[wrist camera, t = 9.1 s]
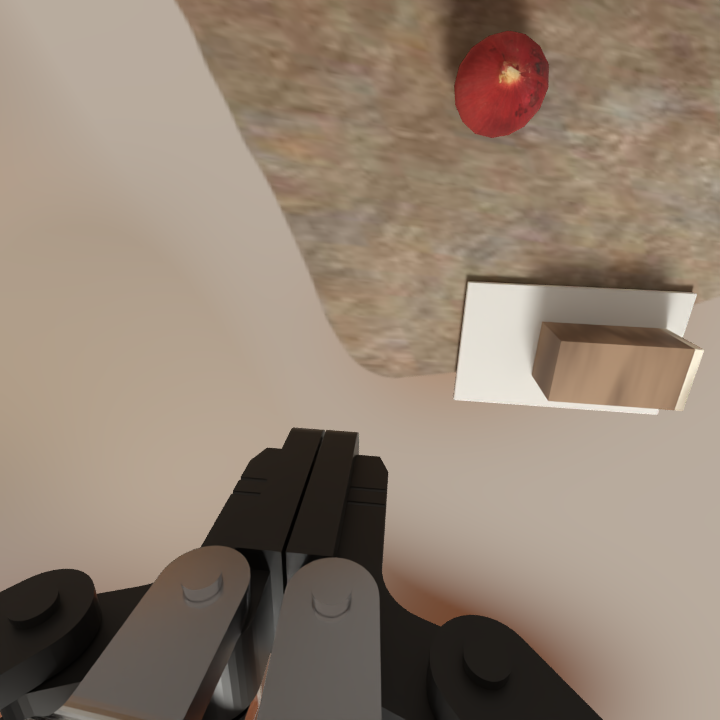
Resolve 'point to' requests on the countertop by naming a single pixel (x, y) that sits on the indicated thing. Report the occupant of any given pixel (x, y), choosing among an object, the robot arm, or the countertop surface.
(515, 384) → the mat
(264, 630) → the robot arm
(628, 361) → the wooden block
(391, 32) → the countertop surface
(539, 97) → the onion
